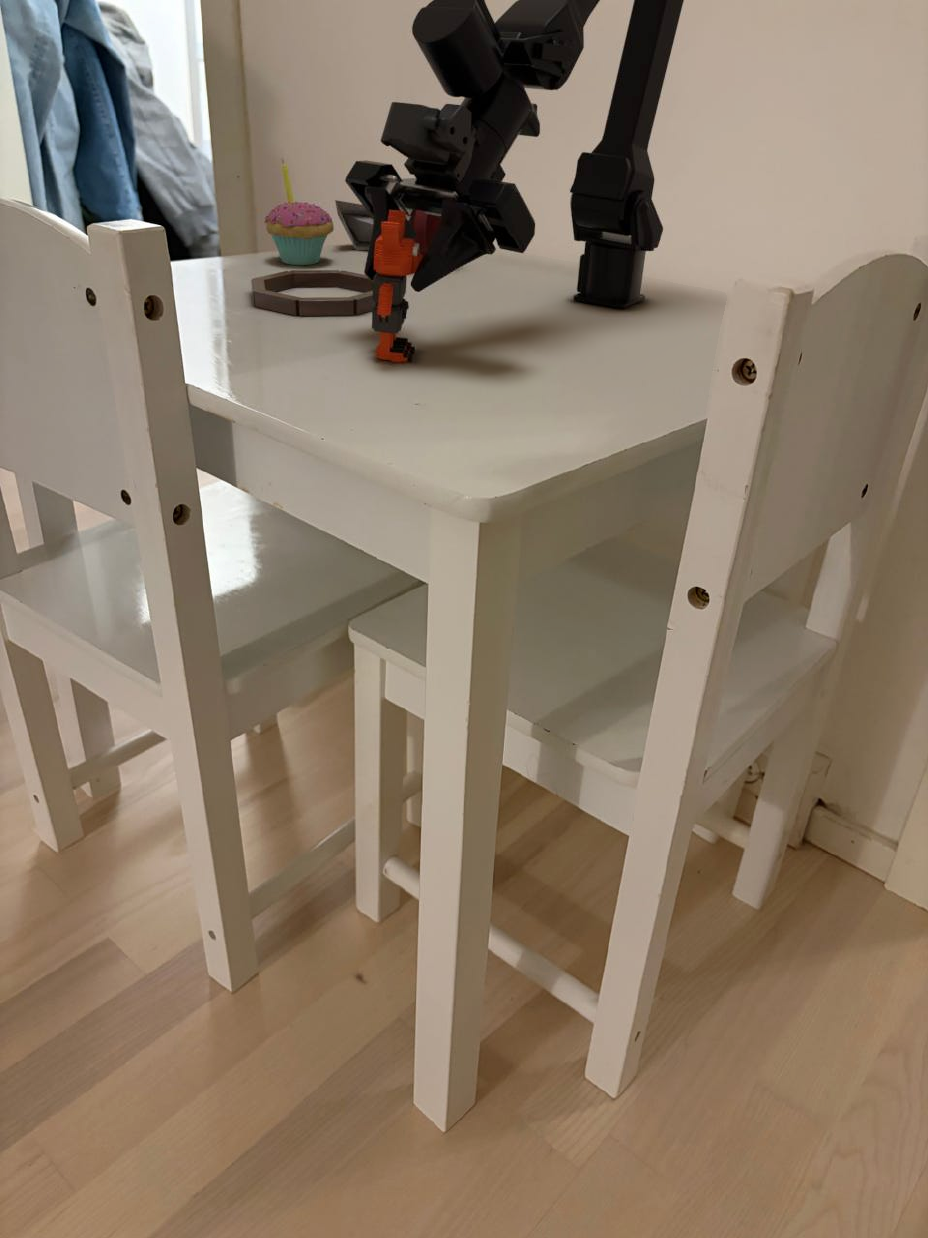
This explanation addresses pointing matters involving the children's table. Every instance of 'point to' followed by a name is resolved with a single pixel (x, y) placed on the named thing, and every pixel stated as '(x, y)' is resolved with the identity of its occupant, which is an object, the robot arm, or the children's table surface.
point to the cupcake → (298, 228)
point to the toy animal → (393, 286)
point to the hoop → (314, 306)
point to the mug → (423, 225)
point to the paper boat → (356, 223)
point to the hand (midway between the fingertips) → (390, 282)
